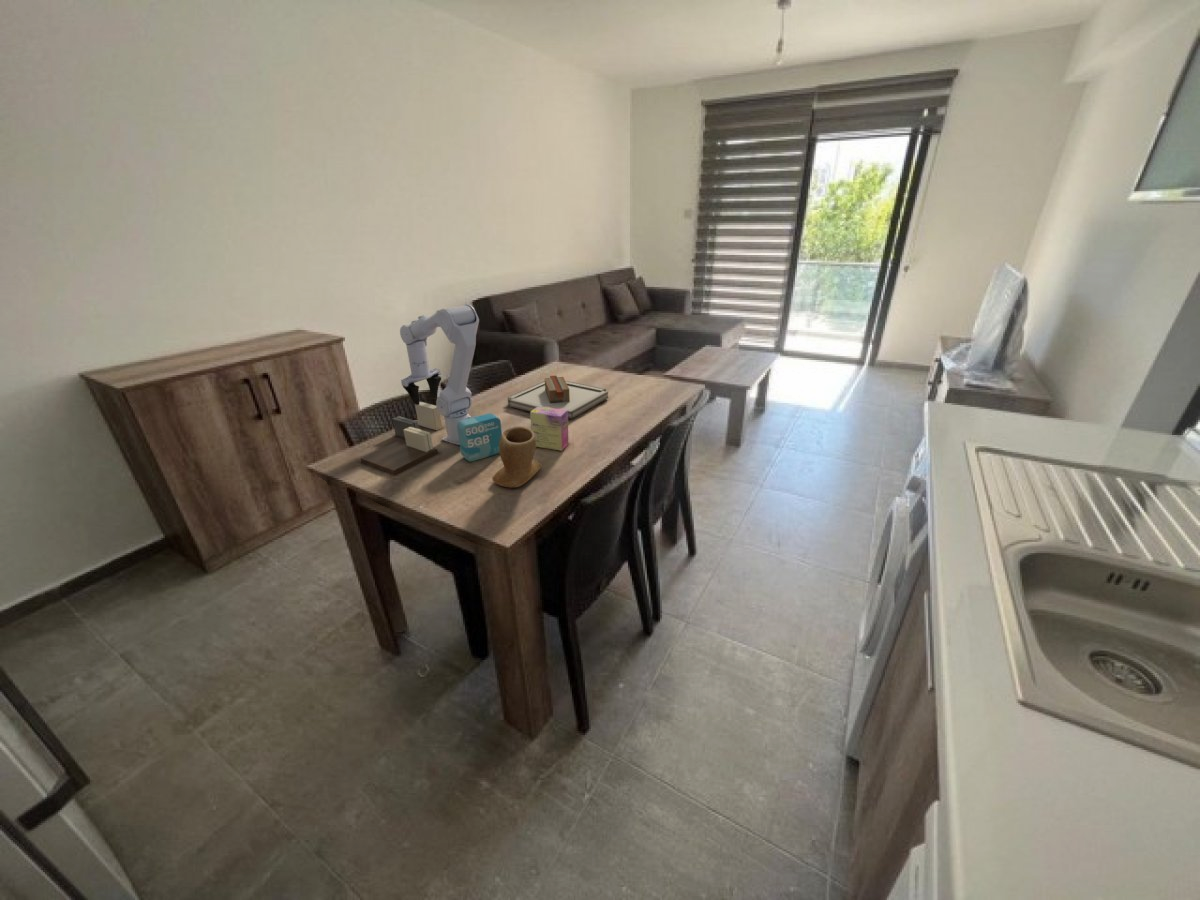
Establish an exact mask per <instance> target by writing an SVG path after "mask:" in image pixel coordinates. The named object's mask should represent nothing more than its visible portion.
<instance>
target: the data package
mask: <svg viewBox="0 0 1200 900" xmlns="http://www.w3.org/2000/svg"><path fill="white" fill-rule="evenodd" d="M472 417H473V418H469V419H465V420H461V421H459V422H458V424H457V430H458V437H459V443H460V445H459V448H460V455H461V456H462V457H463V458H464V459H466V461H468V462H470V463H472V462H475V461H479V460H482V459H485V458H488V457H492V456H495V455H500V452H499V441H500V437H501V435H502V434H503V431H502V422H501V419H500V418H499V417H498V416H496V415H495V414H493V413H489V412H488V413H486V414H481V415H477V416H472Z"/></svg>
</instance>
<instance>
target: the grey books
mask: <svg viewBox="0 0 1200 900" xmlns="http://www.w3.org/2000/svg"><path fill="white" fill-rule="evenodd" d="M391 421H392V425H393V429H394V433H395V436H397V437H400V438H402V439H404V438H405V435H404V431H403V430H404V429H406V428H408V427H413V428H417V429H420V428H419V424H418V420H414V419H410V418H408V417H403V416H400V415H398V416H396V417H393V418H392V419H391Z"/></svg>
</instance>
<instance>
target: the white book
mask: <svg viewBox="0 0 1200 900" xmlns="http://www.w3.org/2000/svg"><path fill="white" fill-rule="evenodd" d="M414 408H415V414H416V419H417V423H418V426H419V427H423V428H427V429H431V430H434V431H439V430H441V429H443V424H442V423H443V422H442V417H441V414H440V413H439V411H438V409H437V407H436V404H431V403H428V402H423V401H419V405H416V404H414Z"/></svg>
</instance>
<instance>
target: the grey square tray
mask: <svg viewBox="0 0 1200 900" xmlns="http://www.w3.org/2000/svg"><path fill="white" fill-rule="evenodd" d="M607 399H609V392H608V391H607V388H603V387H597V386H593V385H588V384H584V383H578V382H574V381H570V380H565V378H564V376H557V375H550V376H549V377H545V378H544V380H543V381H540V382H539V383H536V384H534V385H531V386H530V387H527V388H525V389H522V390H519V391H518V392H515V393H513V394H511V395H508V396H507V404H508V407H510V408H514V409H518V410H520V411H521V410H522V411H526V412H529V413H530V412H531V411H532V410H534V409H535V408H536V407H538V406H540V407H547V408H554V409H562V410H568V419H569V420H572V419H574V418H575V417H578V416H579V415H581V414H583V413H584V412H586V411H588V410H589V409H592V408H593V407H595V406H597V405H599V404H601V403H602V402H603V401H605V400H607Z"/></svg>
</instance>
